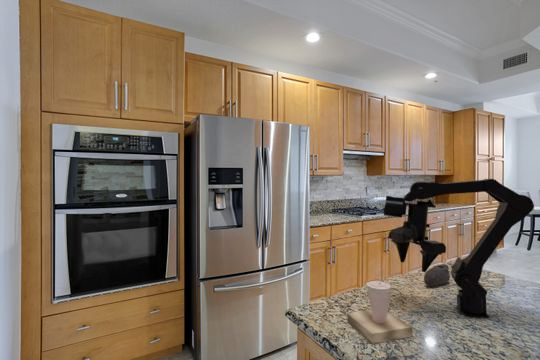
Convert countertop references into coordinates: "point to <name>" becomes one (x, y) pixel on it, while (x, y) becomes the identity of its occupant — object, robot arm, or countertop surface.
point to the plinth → (379, 327)
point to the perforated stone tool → (437, 275)
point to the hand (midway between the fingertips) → (412, 266)
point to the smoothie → (379, 299)
